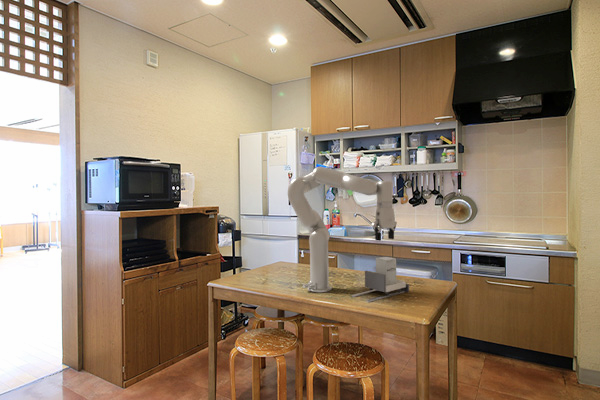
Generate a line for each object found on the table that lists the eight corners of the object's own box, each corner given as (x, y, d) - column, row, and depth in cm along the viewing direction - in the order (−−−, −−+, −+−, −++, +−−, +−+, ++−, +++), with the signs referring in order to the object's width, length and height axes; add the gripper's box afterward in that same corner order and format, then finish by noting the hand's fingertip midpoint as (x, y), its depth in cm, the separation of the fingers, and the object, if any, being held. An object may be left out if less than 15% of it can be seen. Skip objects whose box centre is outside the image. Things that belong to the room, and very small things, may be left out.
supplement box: (386, 285, 172) (385, 259, 172) (375, 282, 178) (375, 257, 178) (396, 283, 176) (396, 258, 175) (386, 280, 182) (385, 256, 182)
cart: (385, 296, 166) (385, 275, 166) (363, 290, 177) (363, 270, 177) (405, 291, 175) (405, 271, 175) (383, 285, 186) (383, 266, 186)
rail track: (370, 302, 160) (370, 294, 160) (348, 296, 171) (348, 287, 171) (409, 292, 176) (409, 284, 176) (386, 286, 188) (386, 279, 188)
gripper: (378, 206, 169) (378, 241, 169) (401, 205, 179) (401, 239, 179) (367, 205, 175) (367, 240, 175) (390, 205, 185) (390, 237, 185)
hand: (384, 239), depth 177 cm, fingers open, 9 cm apart
